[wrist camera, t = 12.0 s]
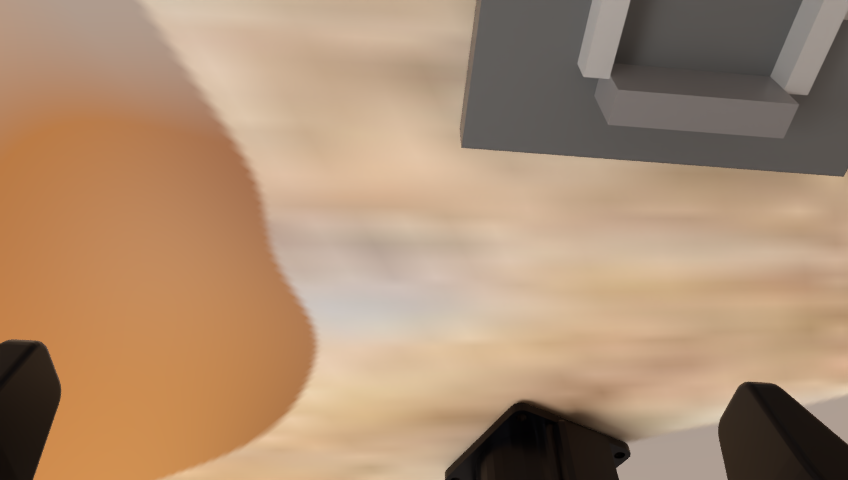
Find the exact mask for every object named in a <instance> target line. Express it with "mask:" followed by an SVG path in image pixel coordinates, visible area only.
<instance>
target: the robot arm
mask: <svg viewBox="0 0 848 480" xmlns="http://www.w3.org/2000/svg"><path fill="white" fill-rule="evenodd" d="M60 397H61V384H60V381H59V378H58V375H57V373H56V370H55V368H54V365H53V362H52V360H51V357H50V354H49V352H48V349H47V347H46V346H45V345H44V344H43V343H42V342H40V341H31V340H8V341H5V342H3V343H1V344H0V480H33V478H34V475H35V472H36V469H37V467H38V464H39V461H40V458H41V455H42V452H43V449H44V446H45V443H46V440H47V437H48V434H49V431H50V429H51V426H52V423H53V420H54V416H55V414H56V411H57V408H58V405H59V402H60ZM718 434H719V441H720V446H721V450H722V455H723V459H724V464H725V468H726V473H727V478H728V480H848V444H847V443H845V442H844V441H843V440H842V439H841V438H840V437H838V436H837V435H836V434H835V433H833V432H832V431H831V430H830V429H829V428H828V427H827V426H825V425H824V424H823V423H822V422H821V421H819V420H818V419H817V418H816V417H815V416H813V415H812V414H811V413H810V412H809V411H808V410H807V409H805V408H804V407H803V406H802V405H801V404H800V403H798V402H797V401H796V400H795V399H794V398H792V397H791V396H790V395H789V394H788V393H787V392H785V391H784V390H783V389H782V388H780V387H779V386H777V385H775V384H772V383H762V382H744V383H743V384H741V385H740V386H739V387H738V388H737V390H736V392H735V394H734V395H733V397H732V399H731V401H730V403H729V404H728V406H727V408H726V410H725V411H724V413H723V415H722V417H721V419H720V422H719V427H718ZM629 457H630V450H629V447H628V445H627V444H626V443H625V442H623V441H620V440H617V439H615V438H612V437H610V436H607V435H605V434H602V433H600V432H597V431H595V430H592V429H589V428H587V427H584V426H582V425H579V424H577V423H574V422H572V421H569V420H567V419H564V418H562V417H559V416H556V415H554V414H551V413H549V412H546V411H544V410H541V409H539V408H536V407H534V406H531V405H529V404H525V403H517V404H514V405H513V406H511V407H510V408H509V409H508V410H507V411H506V412H505V413H504V414H503V415H502V416H501V417H500V418H499V419H498V420H497V421H496V422H495V423H494V424H493V425H492V426H491V427H490V428H489V429H488V430H487V431H486V432H485V433H484V434H483V435H482V436H481V437H480V438H479V439H478V440H477V441H476V442H475V443H473V444H472V445H471V446H470V447H469V448H468V449H467V450H466V451H465V452H464V453H463V454H462V455H461V456H460V457H459V458H458V459H457V460H456V461H455V462H454V463H453V464H452V465H451V466H450V467H449V468H448V469H447V470H446V472H445V480H619V478H618V474H617V471H616V468H617V467H618V466H619V465H620V464H622V463H623V462H624V461H625V460H627V459H628V458H629Z"/></svg>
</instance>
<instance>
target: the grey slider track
mask: <svg viewBox="0 0 848 480" xmlns="http://www.w3.org/2000/svg"><path fill="white" fill-rule="evenodd" d="M460 137H461V148H472V149H486V150H499V151H512V152H525V153H538V154H552V155H565V156H578V157H591V158H605V159H618V160H631V161H644V162H657V163H671V164H684V165H697V166H710V167H723V168H737V169H750V170H763V171H776V172H789V173H803V174H816V175H829V176H842V177H844V175H845V173H846V171H847V169H848V0H477V2H476V9H475V17H474V24H473V32H472V40H471V47H470V55H469V63H468V70H467V78H466V86H465V93H464V101H463V109H462V116H461V124H460Z"/></svg>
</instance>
